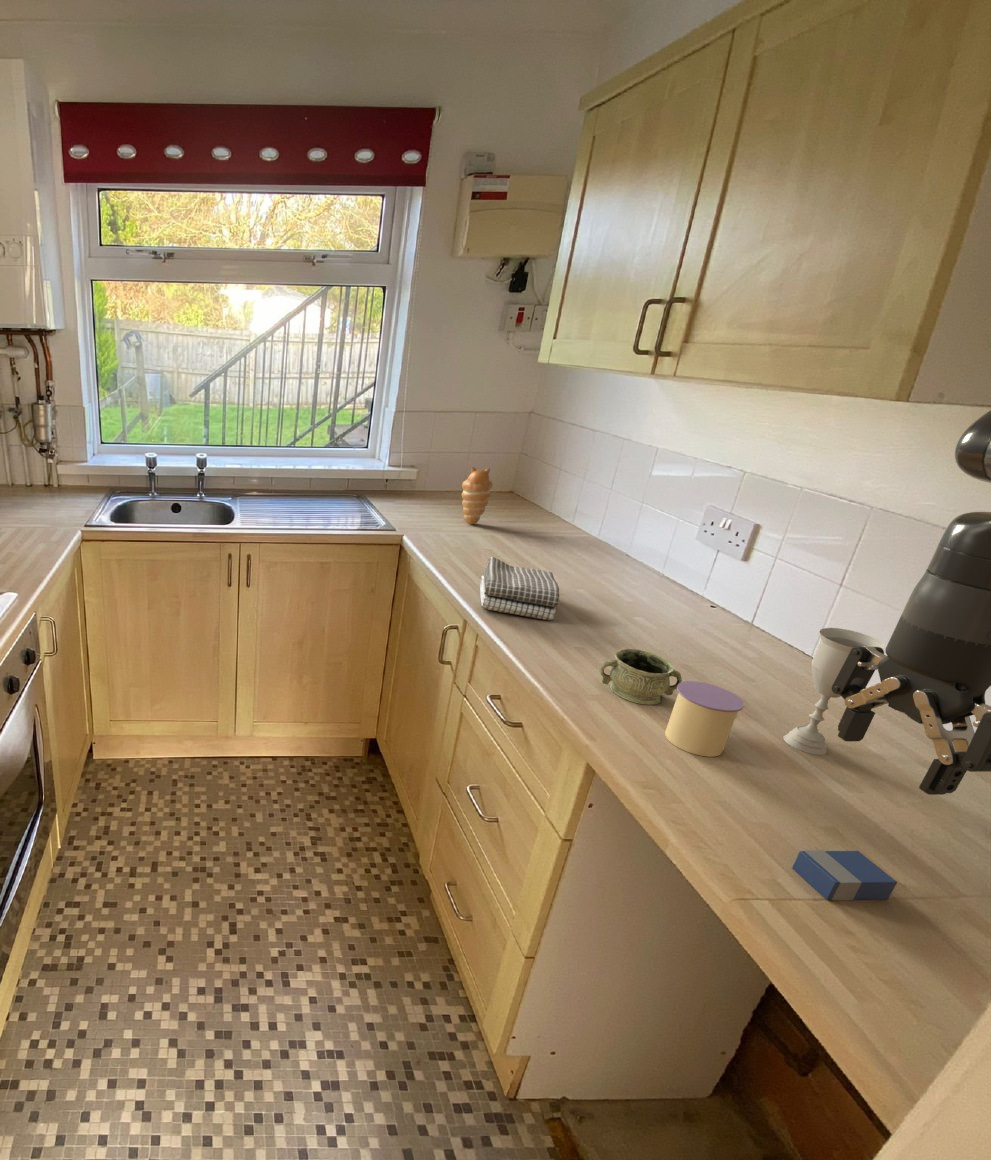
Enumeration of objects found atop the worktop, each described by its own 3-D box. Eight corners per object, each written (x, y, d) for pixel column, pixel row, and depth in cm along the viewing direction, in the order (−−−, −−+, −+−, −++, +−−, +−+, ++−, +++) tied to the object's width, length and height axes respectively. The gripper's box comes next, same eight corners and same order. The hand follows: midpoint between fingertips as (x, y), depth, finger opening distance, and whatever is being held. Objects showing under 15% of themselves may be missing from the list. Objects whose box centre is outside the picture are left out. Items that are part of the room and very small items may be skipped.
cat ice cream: (484, 521, 205) (494, 466, 198) (486, 528, 198) (497, 471, 191) (455, 519, 207) (464, 464, 200) (456, 526, 200) (466, 469, 193)
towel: (479, 613, 139) (485, 579, 136) (478, 583, 155) (484, 553, 152) (556, 624, 134) (564, 590, 131) (547, 593, 150) (554, 562, 147)
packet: (848, 867, 74) (858, 849, 73) (888, 900, 70) (898, 882, 69) (791, 867, 74) (799, 850, 73) (827, 900, 70) (836, 882, 69)
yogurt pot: (720, 736, 98) (738, 689, 95) (730, 765, 92) (749, 716, 88) (659, 721, 102) (674, 676, 98) (664, 747, 95) (680, 700, 92)
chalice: (825, 764, 92) (876, 655, 85) (768, 740, 97) (811, 635, 91) (841, 748, 96) (891, 641, 89) (785, 725, 101) (829, 623, 94)
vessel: (668, 687, 111) (678, 655, 109) (682, 713, 104) (694, 680, 101) (591, 673, 115) (600, 642, 113) (599, 698, 108) (609, 665, 105)
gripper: (1095, 661, 54) (1002, 813, 60) (918, 594, 67) (856, 724, 73) (1009, 661, 53) (925, 813, 59) (849, 594, 66) (793, 724, 73)
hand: (887, 764), depth 66 cm, fingers open, 8 cm apart
